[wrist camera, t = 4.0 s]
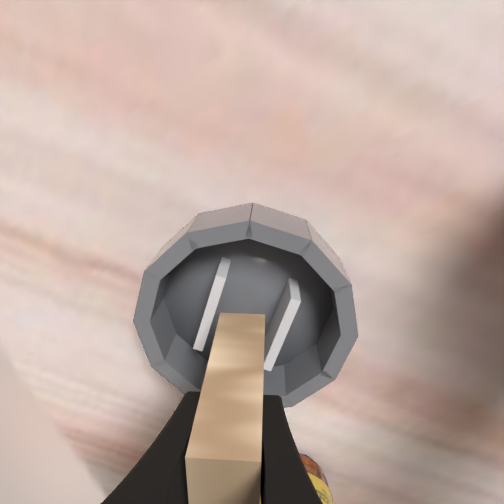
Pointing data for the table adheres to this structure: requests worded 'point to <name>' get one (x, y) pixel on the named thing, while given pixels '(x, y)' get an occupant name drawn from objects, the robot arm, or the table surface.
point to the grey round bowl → (248, 299)
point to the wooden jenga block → (229, 416)
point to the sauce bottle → (317, 479)
